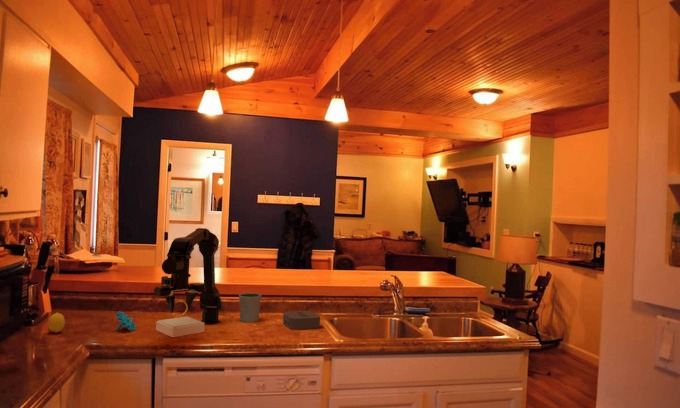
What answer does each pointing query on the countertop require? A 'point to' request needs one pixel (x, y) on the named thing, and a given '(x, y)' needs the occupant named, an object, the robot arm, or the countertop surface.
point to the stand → (179, 326)
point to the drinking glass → (249, 307)
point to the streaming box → (301, 320)
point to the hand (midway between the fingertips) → (179, 311)
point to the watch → (181, 301)
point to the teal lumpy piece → (125, 321)
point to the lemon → (56, 322)
